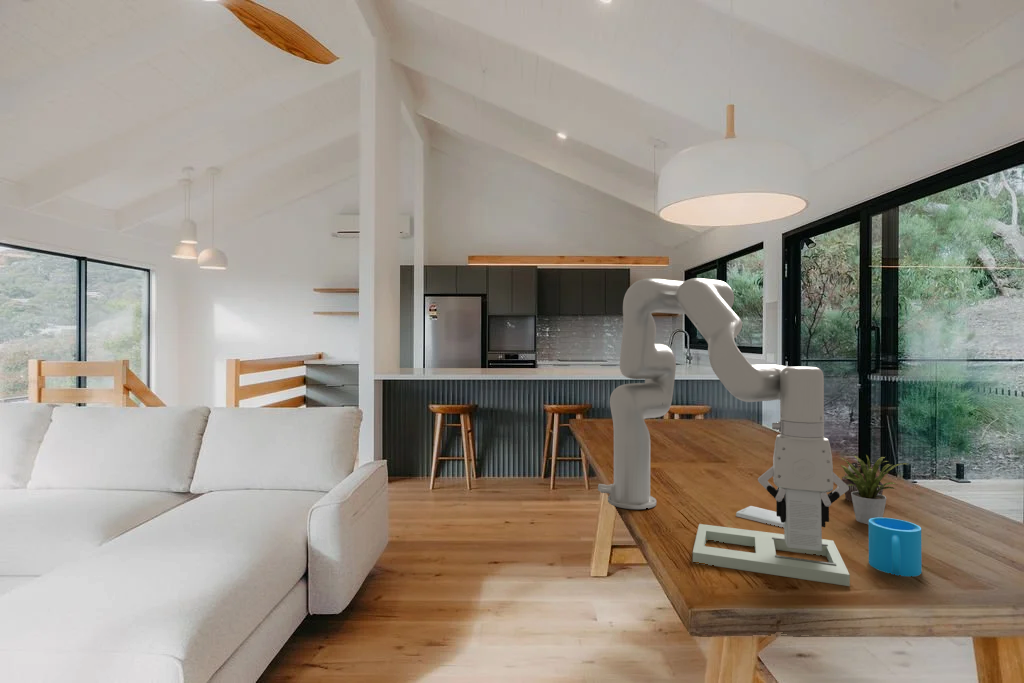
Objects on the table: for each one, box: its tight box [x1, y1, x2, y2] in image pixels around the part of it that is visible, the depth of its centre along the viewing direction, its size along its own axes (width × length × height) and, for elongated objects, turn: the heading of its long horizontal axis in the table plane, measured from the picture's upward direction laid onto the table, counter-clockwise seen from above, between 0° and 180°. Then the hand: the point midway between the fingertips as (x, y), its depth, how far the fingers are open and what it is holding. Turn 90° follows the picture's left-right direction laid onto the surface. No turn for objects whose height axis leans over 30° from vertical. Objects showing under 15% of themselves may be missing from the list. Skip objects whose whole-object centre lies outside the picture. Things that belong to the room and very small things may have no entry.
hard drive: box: [735, 505, 784, 529], centre depth 131 cm, size 2×8×12 cm
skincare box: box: [783, 489, 823, 551], centre depth 105 cm, size 6×4×12 cm
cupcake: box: [841, 462, 885, 503], centre depth 146 cm, size 10×10×10 cm
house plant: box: [840, 454, 908, 525], centre depth 129 cm, size 14×14×16 cm
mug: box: [868, 517, 923, 577], centre depth 101 cm, size 12×8×8 cm
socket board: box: [692, 523, 851, 587], centre depth 107 cm, size 26×18×2 cm
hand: (802, 521), depth 105 cm, fingers closed on skincare box, 6 cm apart
